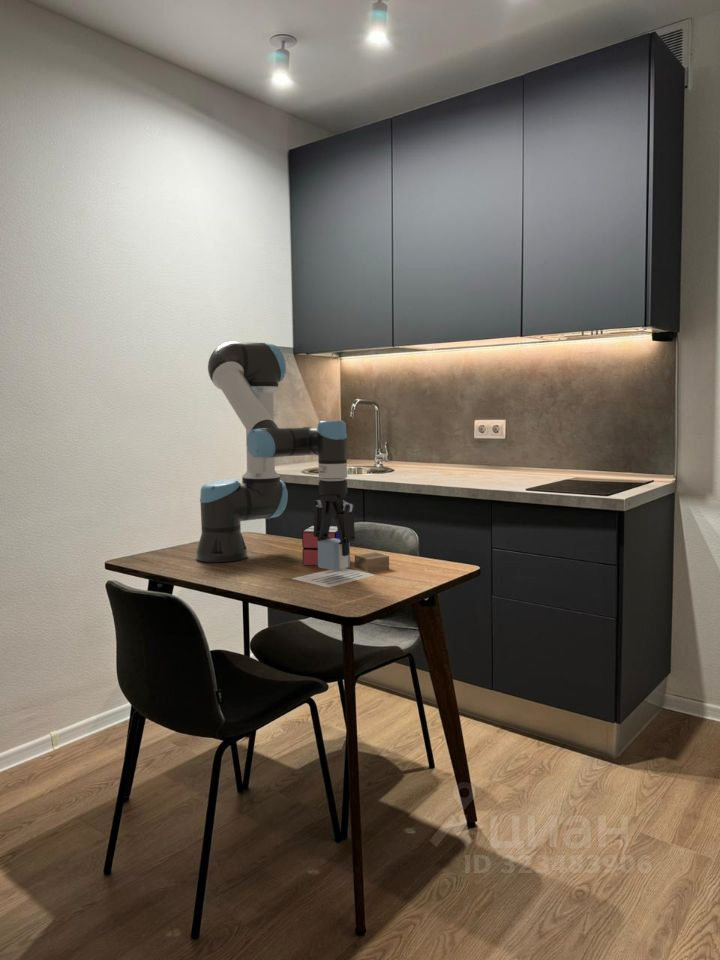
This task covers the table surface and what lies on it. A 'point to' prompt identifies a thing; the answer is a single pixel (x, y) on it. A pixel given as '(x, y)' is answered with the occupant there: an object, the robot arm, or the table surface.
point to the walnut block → (371, 562)
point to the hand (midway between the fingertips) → (334, 565)
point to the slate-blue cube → (329, 554)
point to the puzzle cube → (314, 544)
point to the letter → (333, 577)
